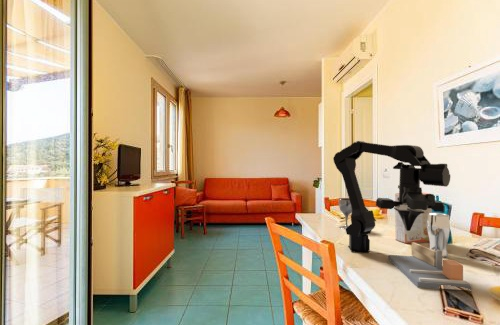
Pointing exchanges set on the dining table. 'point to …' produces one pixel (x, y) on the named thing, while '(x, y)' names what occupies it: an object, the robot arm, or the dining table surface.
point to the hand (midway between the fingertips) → (407, 230)
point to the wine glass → (345, 209)
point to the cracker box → (417, 229)
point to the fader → (452, 270)
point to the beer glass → (438, 231)
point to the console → (425, 272)
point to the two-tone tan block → (424, 253)
